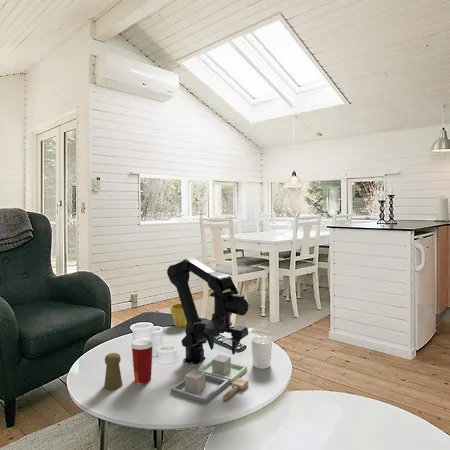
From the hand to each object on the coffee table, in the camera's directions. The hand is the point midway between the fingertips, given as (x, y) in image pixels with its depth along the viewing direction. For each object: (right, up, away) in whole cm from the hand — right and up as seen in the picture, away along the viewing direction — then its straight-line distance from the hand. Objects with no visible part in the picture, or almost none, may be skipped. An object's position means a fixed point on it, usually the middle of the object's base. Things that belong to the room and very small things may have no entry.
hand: (222, 351), depth 141 cm
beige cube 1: (0, -7, 0) cm, 7 cm away
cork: (-37, -9, -9) cm, 39 cm away
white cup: (+15, -7, +6) cm, 18 cm away
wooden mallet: (+4, -9, -14) cm, 17 cm away
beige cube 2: (-9, -9, -11) cm, 17 cm away
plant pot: (-21, -4, +53) cm, 58 cm away
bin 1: (-7, -9, -11) cm, 16 cm away
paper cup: (-28, -8, -5) cm, 30 cm away
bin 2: (0, -8, +1) cm, 8 cm away
